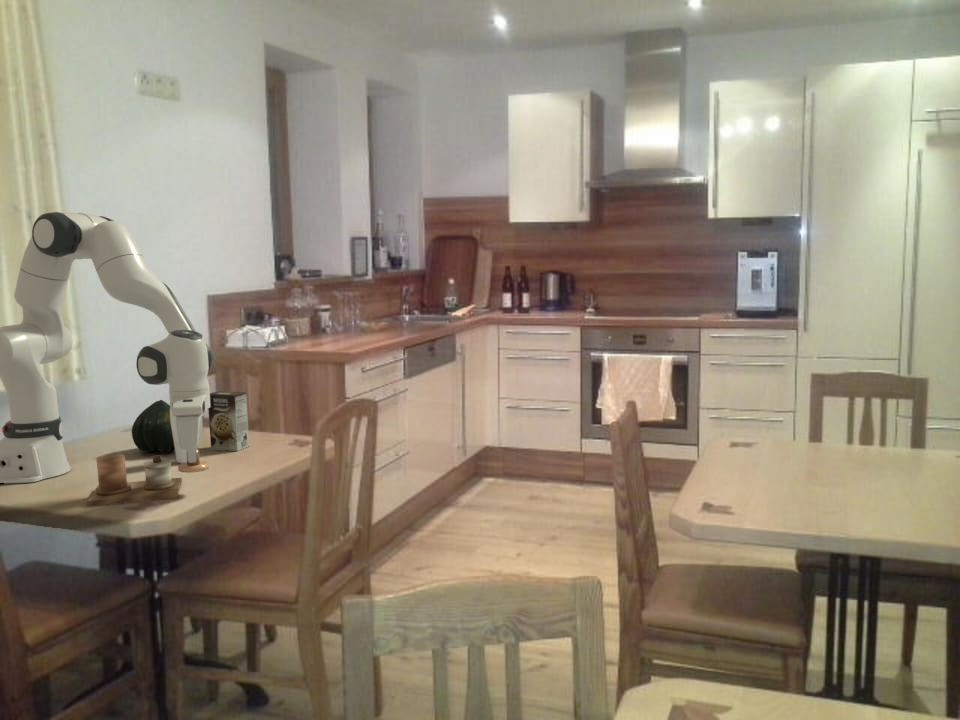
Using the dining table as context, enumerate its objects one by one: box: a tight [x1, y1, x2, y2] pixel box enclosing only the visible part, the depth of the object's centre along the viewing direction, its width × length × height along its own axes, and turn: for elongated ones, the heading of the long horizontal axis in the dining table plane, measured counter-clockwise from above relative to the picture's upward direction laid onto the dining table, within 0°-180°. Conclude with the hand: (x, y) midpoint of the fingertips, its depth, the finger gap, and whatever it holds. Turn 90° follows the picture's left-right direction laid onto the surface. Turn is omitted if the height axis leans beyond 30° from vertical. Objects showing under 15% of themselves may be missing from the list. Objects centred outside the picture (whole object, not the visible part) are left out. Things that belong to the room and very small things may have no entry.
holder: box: [86, 453, 183, 507], centre depth 201 cm, size 19×14×9 cm
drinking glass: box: [170, 409, 187, 464], centre depth 231 cm, size 7×7×15 cm
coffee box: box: [207, 390, 250, 452], centre depth 245 cm, size 9×6×16 cm
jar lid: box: [177, 448, 210, 474], centre depth 200 cm, size 7×7×4 cm
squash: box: [131, 399, 175, 455], centre depth 245 cm, size 14×15×15 cm
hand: (193, 459), depth 200 cm, fingers closed on jar lid, 3 cm apart
